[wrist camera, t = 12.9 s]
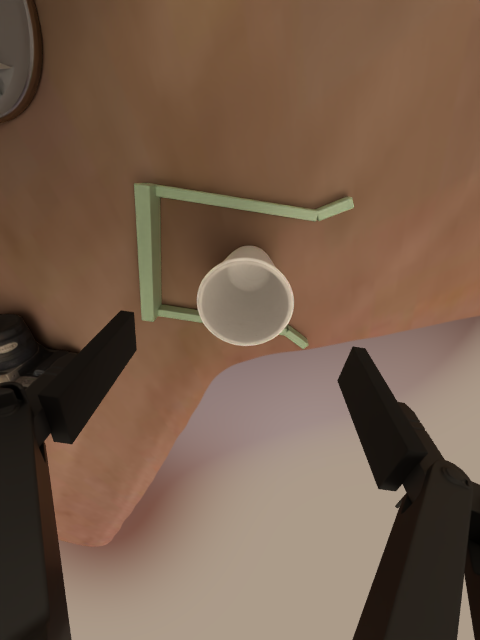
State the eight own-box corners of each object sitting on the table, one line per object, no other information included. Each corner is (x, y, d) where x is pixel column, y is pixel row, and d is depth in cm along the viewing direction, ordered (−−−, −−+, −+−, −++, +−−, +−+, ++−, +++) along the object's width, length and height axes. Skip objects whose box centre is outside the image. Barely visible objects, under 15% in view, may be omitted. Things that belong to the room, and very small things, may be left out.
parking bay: (150, 319, 35) (142, 331, 33) (145, 164, 26) (132, 162, 24) (305, 343, 35) (308, 356, 33) (352, 197, 26) (362, 199, 24)
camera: (74, 314, 36) (14, 359, 27) (91, 372, 41) (45, 426, 32) (-36, 306, 36) (-130, 347, 27) (-6, 364, 41) (-77, 414, 32)
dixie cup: (202, 280, 32) (180, 319, 23) (236, 218, 28) (225, 237, 19) (259, 312, 34) (259, 360, 25) (298, 258, 30) (315, 292, 21)
